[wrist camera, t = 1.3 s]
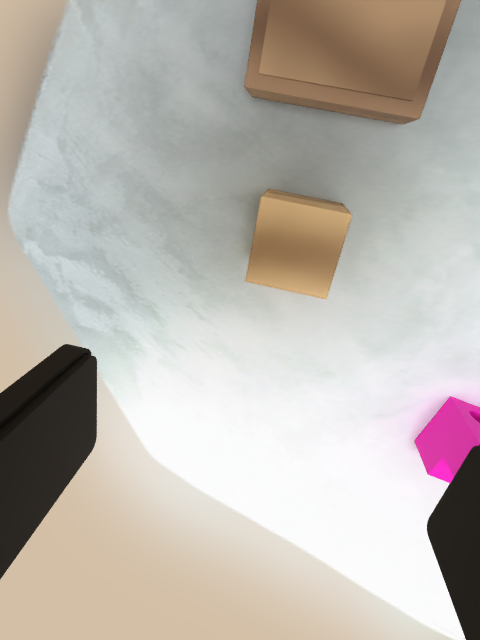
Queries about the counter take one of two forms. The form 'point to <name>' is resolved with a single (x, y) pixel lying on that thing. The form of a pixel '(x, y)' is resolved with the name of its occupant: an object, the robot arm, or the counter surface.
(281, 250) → the oak cube
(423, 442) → the toy block
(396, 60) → the copper tray
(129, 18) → the counter surface
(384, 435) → the counter surface
